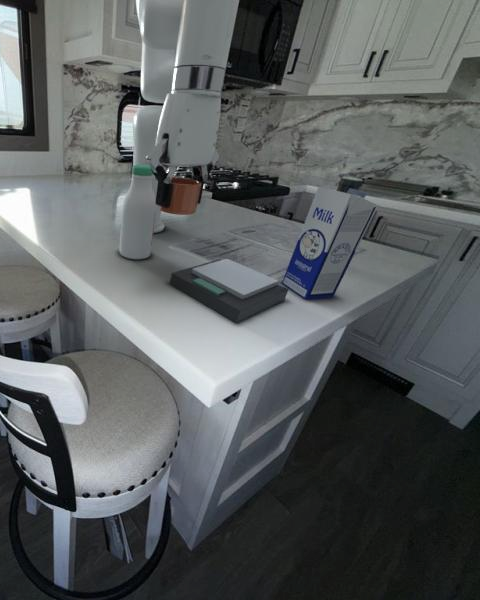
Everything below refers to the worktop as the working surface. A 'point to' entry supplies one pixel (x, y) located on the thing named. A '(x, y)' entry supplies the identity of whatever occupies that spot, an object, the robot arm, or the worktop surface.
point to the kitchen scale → (229, 288)
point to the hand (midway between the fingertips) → (178, 203)
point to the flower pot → (183, 197)
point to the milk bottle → (138, 215)
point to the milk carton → (328, 242)
